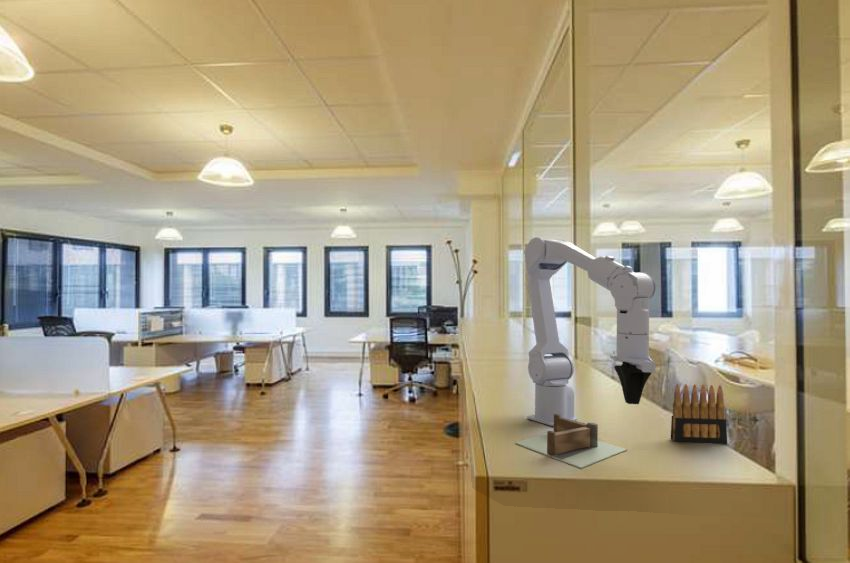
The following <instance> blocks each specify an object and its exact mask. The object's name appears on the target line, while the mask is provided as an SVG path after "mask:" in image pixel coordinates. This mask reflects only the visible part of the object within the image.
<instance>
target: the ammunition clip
mask: <svg viewBox="0 0 850 563" xmlns="http://www.w3.org/2000/svg"><path fill="white" fill-rule="evenodd" d="M689 390H690V389H689V386H688V384H687V383H686V384H684V387H683V391H682V392H681V388H680V386H679V384H678V383H676V384H675V388H674V392H673V394H674V395H673V402H672V415H671V423H670V440H671V441H672V442H674V443H676V442H677V443H679V444H680V443H681V444H683V443H684V444H706V445H707V444H709V445H711V444H712V445H727V444H728V433H727V432H728V431H727V430H728V428H727V419H726V417H725V416H726V413H725V412H726V406H725V403H724V402H725V401H724V400H725V399H724V391H723V387H722V386H721V384H720V385H718V387H717V392H716V393H715V389H714V386H713V384H710V386H709V389H708V392H707V389H706V387H705V385H704V384H702V385H701V386H700V391H699V393H698V387H697V386H696V384H693V386H692V388H691V397H690V391H689ZM681 393H682V396H681ZM707 393H708V394H707ZM698 394H699V395H698ZM681 397H682V398H681Z"/></svg>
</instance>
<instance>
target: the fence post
mask: <svg viewBox="0 0 850 563" xmlns="http://www.w3.org/2000/svg"><path fill="white" fill-rule="evenodd" d="M581 427H588V428H590V446H589V447H592V448H596V447H598V441H599V440H598V438H599V437H598V436H599V435H598V433H599V432H598V431H599V430H598V429H599V426H598V424H597V423H596V422H595V423H594V422H587V423H584V422H580V421H578V420H576V421H574V420H570V419H567V418H563V417H561V415H560V414H554V426H553V431H554V432H555V433H556V432H561V431H566V430H571V429H576V428H581Z"/></svg>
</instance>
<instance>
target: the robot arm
mask: <svg viewBox="0 0 850 563" xmlns="http://www.w3.org/2000/svg"><path fill="white" fill-rule="evenodd" d="M523 253H524V260H525V266H526V279H527V287H528V288H527V289H528V294H529V300H530V301H529V303H530V307H531V315H532V316H531V317H532V321H533V323H532V324H533V328H534V336H535V342H536V343H535V345H534V347H532V348H531V349H530V350H529V352H528V365H527V371H528V374H529V377H530V379H531V380H532V383H534V385H535V386H534V414H531V415H528V416H526V419H527V420H531V421H534V422H537V423H540V424H544V425H546V426H551V427H554V414H560V415H561V417H563V418H567V419H570V420H574V421H578V417H576V416H575V392H574V389H573V387H572V386H571V385H570V383H569V380H571V379H572V377H573V375H574V371H575V369H574V368H575V367H574V363H573V361H572V359H571V357H570V354H569V349H568V348H567V347H565V345H564V344H563V343H562V342H561V341H560V338H559V332H558V325H557V318H556V312H555V307H554V305H555V304H554V300H553V293H552V285H551V278H552V276H555V275H556V274H557V273H558V272H559V271H560V270H561V269H562V268H563V267H564V266H565V265H566V264H567V263H569V264H572V265H573V266H576V267H578V268H579V269H581V270H583V271H586V272H587V276H588V278H589V279H590V280H591V281H592V282H594V283H595V284H598V285H599V286H601V287H603V288H604V289H606V290H607V291H608V292H609V291H610V294H611V296H612V298H613V300H614V307H615V309H616V350H613V351H612V353H613V354H610V355H609V356H610V359H612V360H613V361H616V362H621V363H622V364H619V365H618V364H617V365H614V366H613V368H614V371H615V372H616V375H617V376H618V379H619V381H620V385H621V389H622V393H623V398H624V401H625V403H626V404H628V405H639V404H640V402H641V399H642V394H643V391H644V387H645V385H646V383H647V382H648V380H649V378H650V377H651V375H652V373H654V374H655V373H656V361H653V360H652V358H651V357H650V300H651V299H652V298H653V297H654V296H655V293H656V292H657V284H656V281H655V279H654V278H653V276H651V275H650V274H649V273H648V272H646V271H638V272H635V271H634V270H633V267H631V266H630V265H623V264H621V263H619V262H617V261H615V260H616V257H614V256H611V255H605V256H598V257H594V256H593V255H592V254H590V253H588V252H586V251H584V250H583V249H582V248H580V247H578V246H576V245H575V244H574V243H573V242H569V241H567V240H565V239H550V238H541V237H535V236H534V237H533V238H531V239H530V240H529V241H528V243H527V245H526V247H525V249H524V251H523Z"/></svg>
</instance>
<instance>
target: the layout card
mask: <svg viewBox="0 0 850 563" xmlns="http://www.w3.org/2000/svg"><path fill="white" fill-rule="evenodd" d="M514 444H515V445H518V446H520V447H523V448H526V449H527V450H528V449H529V450H531V451H533V452H537V453H539V454H541V455H544V456H547V457H549V458H553V459H555V460H557V461H560V462H562V463H566V464H569V465H570V466H573V467H576V468H579V469H584V468H587V467H589V466H592V465H594V464H596V463H599V462H601V461H604V460H607V459H608V458H612V457H613V456H617V455H619V454H621V453H624V452H627V450H628V449H626V448H623V447H620V446H617V445H614V444H610V443H608V442H604V441H601V440H598V447H596V448H592V447H585V448H581V449H576V450H572V451H568V452H563V453H559V454H555V455H549V454H547V433H542V434H540V435H537V436H533V437H529V438H526V439H523V440H519V441H515V443H514Z"/></svg>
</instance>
